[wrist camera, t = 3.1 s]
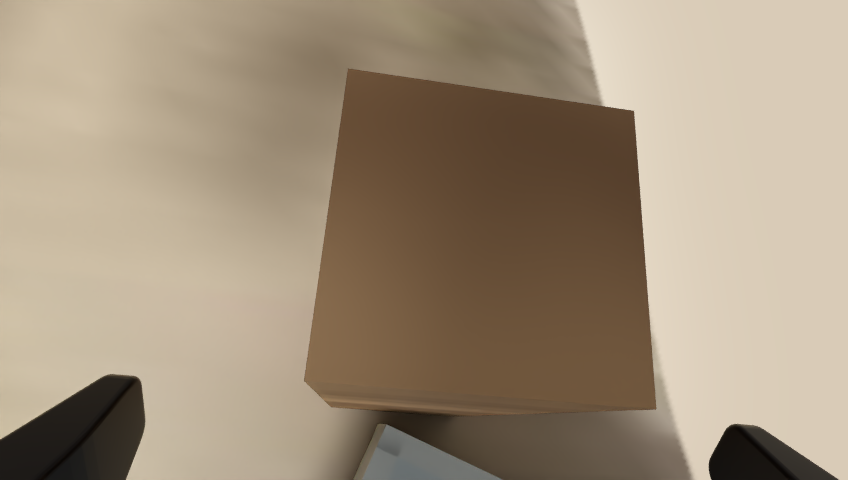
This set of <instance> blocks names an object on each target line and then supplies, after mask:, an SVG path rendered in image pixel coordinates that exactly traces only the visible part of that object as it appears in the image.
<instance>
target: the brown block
mask: <svg viewBox="0 0 848 480" xmlns="http://www.w3.org/2000/svg"><path fill="white" fill-rule="evenodd" d="M634 120H635V119H634V111H631V110H624V109H617V108H610V107H604V106H597V105H590V104H583V103H577V102H570V101H563V100H556V99H550V98H543V97H536V96H529V95H523V94H516V93H509V92H502V91H495V90H489V89H482V88H475V87H468V86H462V85H455V84H448V83H441V82H435V81H428V80H421V79H414V78H408V77H401V76H394V75H387V74H380V73H374V72H367V71H360V70H353V69H348V73H347V81H346V88H345V95H344V102H343V109H342V116H341V123H340V130H339V137H338V144H337V151H336V159H335V166H334V173H333V180H332V187H331V194H330V201H329V208H328V215H327V222H326V229H325V237H324V244H323V251H322V258H321V265H320V272H319V279H318V286H317V293H316V300H315V307H314V315H313V322H312V329H311V336H310V343H309V350H308V357H307V364H306V371H305V378H304V381H305V382H306V383H307V384H308V385H309V386H310V387H311V388H312V389H313V390H314V391H315V392H316V393H317V394H318V395H319V396H320V397H321V398H322V399H323V400H324V401H325V402H326V403H327V404H328V405H330V406H331V407H338V408H351V409H364V410H377V411H390V412H403V413H416V414H430V415H443V416H477V415H506V414H535V413H564V412H593V411H622V410H651V409H656V400H655V386H654V373H653V360H652V346H651V333H650V319H649V306H648V293H647V280H646V268H645V267H646V266H645V253H644V239H643V227H642V214H641V200H640V186H639V173H638V160H637V146H636V133H635V121H634Z"/></svg>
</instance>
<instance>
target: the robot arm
mask: <svg viewBox="0 0 848 480" xmlns="http://www.w3.org/2000/svg"><path fill="white" fill-rule="evenodd" d="M144 428H145V411H144V402H143V393H142V385H141V381H140V379H139V378H138V377H136V376H129V375H116V374H110V375H106V376H103V377H102V378H100V379H98V380H97V381H95V382H93V383H92V384H90V385H88V386H87V387H85V388H84V389H82V390H80V391H79V392H77V393H75V394H74V395H72V396H71V397H69V398H67V399H66V400H64V401H62V402H61V403H59V404H58V405H56V406H54V407H53V408H51V409H49V410H48V411H46V412H44V413H43V414H41V415H40V416H38V417H36V418H35V419H33V420H31V421H30V422H28V423H27V424H25V425H23V426H22V427H20V428H18V429H17V430H15V431H14V432H12V433H10V434H9V435H7V436H5V437H4V438H2V439H0V480H126V478H127V475H128V472H129V470H130V467H131V465H132V462H133V459H134V457H135V454H136V452H137V449H138V446H139V444H140V441H141V439H142V436H143V432H144ZM709 473H710V477H711V479H712V480H838V479H837V478H835V477H834V476H832V475H831V474H829V473H828V472H826V471H825V470H823V469H822V468H820V467H819V466H817V465H816V464H814V463H813V462H811V461H810V460H809V459H807V458H805V457H804V456H803V455H801V454H799V453H798V452H796V451H795V450H793V449H792V448H791V447H789V446H788V445H786V444H784V443H783V442H782V441H780V440H778V439H777V438H776V437H774V436H772V435H771V434H770V433H768V432H766V431H765V430H764V429H762V428H760V427H758V426H754V425H741V424H733V425H730V426H729V427H728V428H727V429H726V430H725V432H724V434H723V435H722V437H721V439H720V441H719V443H718V445H717V447H716V448H715V450H714V452H713V454H712V456H711V458H710V460H709Z"/></svg>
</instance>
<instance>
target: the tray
mask: <svg viewBox="0 0 848 480" xmlns="http://www.w3.org/2000/svg"><path fill="white" fill-rule="evenodd" d="M353 480H502V479H500V478H498V477H496V476H494V475H492V474H490V473H488V472H486V471H483V470H481V469H479V468H477V467H475V466H473V465H471V464H469V463H467V462H465V461H462V460H460V459H458V458H456V457H454V456H452V455H450V454H448V453H446V452H444V451H441V450H439V449H437V448H435V447H433V446H431V445H429V444H427V443H425V442H423V441H420V440H418V439H416V438H414V437H412V436H410V435H408V434H406V433H404V432H402V431H399V430H397V429H395V428H393V427H391V426H389V425H387V424H378V425H377V427H376V430H375V432H374V434H373V436H372V439H371V441H370V443H369V445H368V447H367V450H366V452H365V454H364V456H363V459H362V461H361V463H360V465H359V468H358V470H357V472H356V474H355V477H354V479H353Z"/></svg>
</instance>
